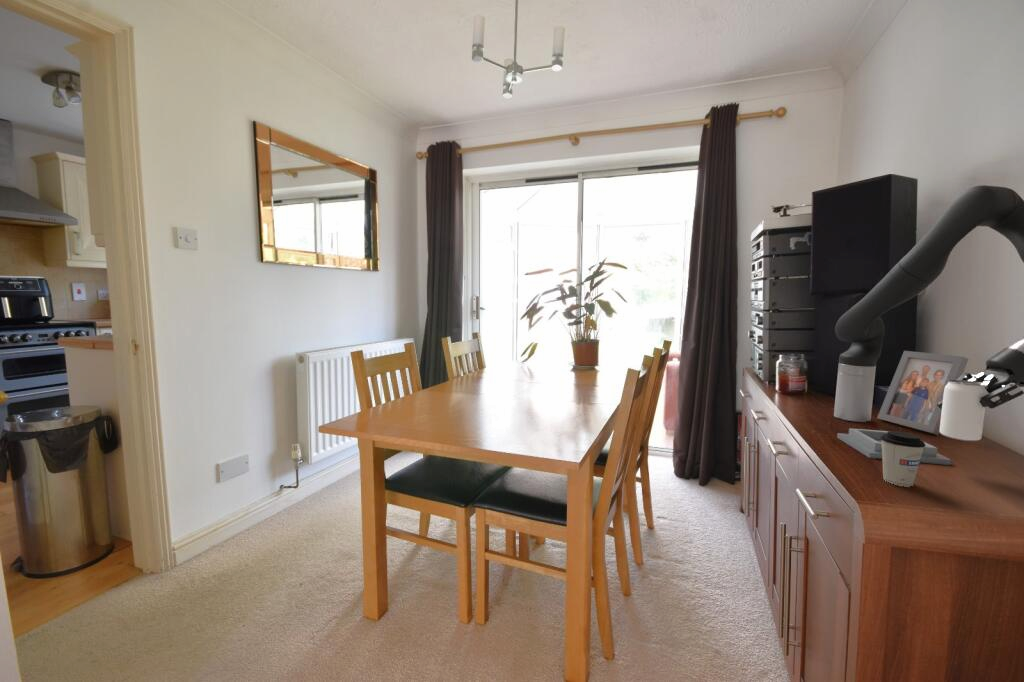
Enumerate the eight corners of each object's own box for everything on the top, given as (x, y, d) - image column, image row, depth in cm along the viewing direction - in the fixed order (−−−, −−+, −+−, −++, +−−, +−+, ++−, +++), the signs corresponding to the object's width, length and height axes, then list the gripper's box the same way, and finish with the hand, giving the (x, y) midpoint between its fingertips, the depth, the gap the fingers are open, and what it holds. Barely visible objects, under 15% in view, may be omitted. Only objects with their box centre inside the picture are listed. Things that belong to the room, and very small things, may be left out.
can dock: (837, 437, 121) (838, 425, 120) (906, 443, 117) (907, 431, 117) (869, 457, 105) (870, 444, 105) (950, 465, 102) (952, 451, 101)
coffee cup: (867, 475, 94) (871, 429, 93) (897, 475, 95) (902, 429, 94) (897, 489, 88) (903, 440, 87) (930, 489, 88) (936, 439, 87)
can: (990, 442, 93) (997, 386, 92) (954, 440, 94) (960, 384, 93) (964, 433, 99) (971, 379, 98) (931, 431, 101) (937, 378, 99)
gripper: (984, 342, 101) (914, 391, 105) (1042, 351, 87) (960, 407, 91) (1009, 367, 100) (938, 415, 104) (1072, 379, 86) (988, 434, 90)
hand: (949, 411), depth 98 cm, fingers closed on can, 4 cm apart
